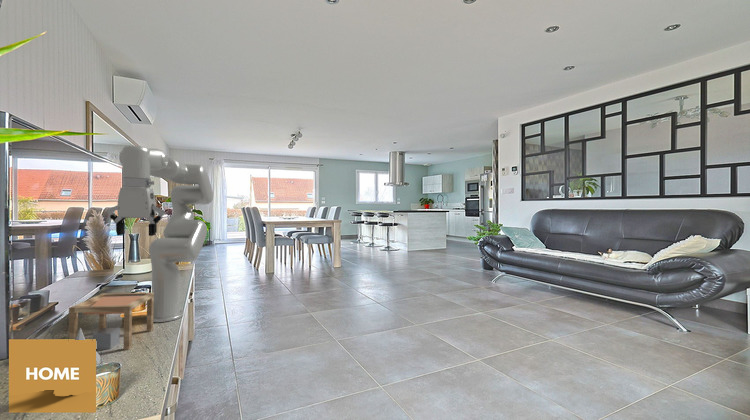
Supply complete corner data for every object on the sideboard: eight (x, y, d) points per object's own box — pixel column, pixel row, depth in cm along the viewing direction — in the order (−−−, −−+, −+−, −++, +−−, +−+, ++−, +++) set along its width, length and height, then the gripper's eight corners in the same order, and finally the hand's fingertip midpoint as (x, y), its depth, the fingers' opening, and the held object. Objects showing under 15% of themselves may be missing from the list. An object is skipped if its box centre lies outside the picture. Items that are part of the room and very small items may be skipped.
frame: (101, 331, 120) (101, 293, 120) (153, 329, 123) (153, 292, 123) (68, 352, 104) (68, 308, 104) (129, 349, 107) (129, 306, 107)
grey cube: (102, 328, 111) (92, 334, 106) (119, 327, 112) (110, 333, 107) (102, 343, 111) (92, 350, 106) (119, 342, 112) (110, 349, 107)
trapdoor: (104, 297, 119) (104, 295, 118) (145, 297, 121) (145, 295, 121) (83, 314, 107) (83, 312, 107) (128, 313, 110) (127, 311, 110)
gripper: (169, 185, 119) (169, 234, 119) (115, 183, 116) (115, 233, 117) (158, 184, 111) (158, 237, 112) (100, 182, 109) (100, 236, 110)
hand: (136, 235), depth 115 cm, fingers open, 9 cm apart
